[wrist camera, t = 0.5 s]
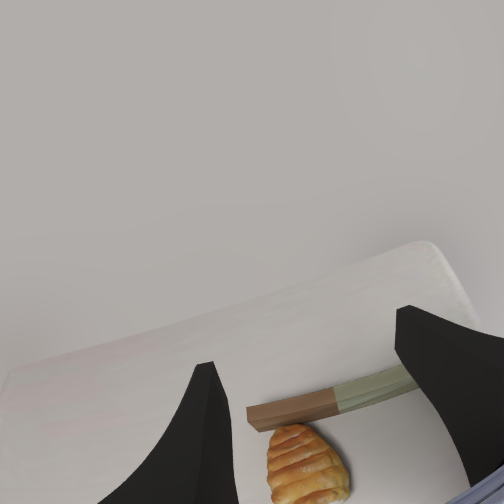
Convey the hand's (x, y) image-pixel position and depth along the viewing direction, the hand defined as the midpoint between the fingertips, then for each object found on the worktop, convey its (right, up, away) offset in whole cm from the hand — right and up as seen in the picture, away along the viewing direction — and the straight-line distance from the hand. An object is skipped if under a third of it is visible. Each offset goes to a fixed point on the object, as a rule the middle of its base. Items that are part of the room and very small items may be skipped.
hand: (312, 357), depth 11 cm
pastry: (+3, -16, +12) cm, 20 cm away
